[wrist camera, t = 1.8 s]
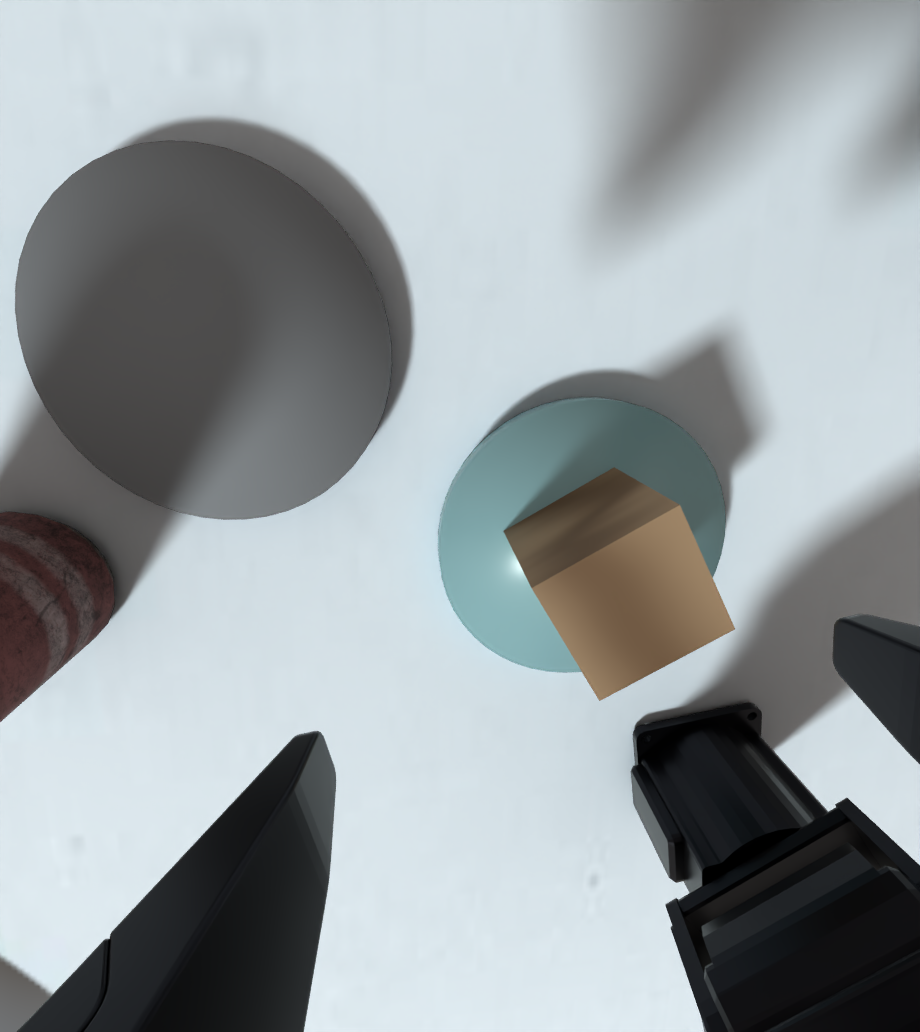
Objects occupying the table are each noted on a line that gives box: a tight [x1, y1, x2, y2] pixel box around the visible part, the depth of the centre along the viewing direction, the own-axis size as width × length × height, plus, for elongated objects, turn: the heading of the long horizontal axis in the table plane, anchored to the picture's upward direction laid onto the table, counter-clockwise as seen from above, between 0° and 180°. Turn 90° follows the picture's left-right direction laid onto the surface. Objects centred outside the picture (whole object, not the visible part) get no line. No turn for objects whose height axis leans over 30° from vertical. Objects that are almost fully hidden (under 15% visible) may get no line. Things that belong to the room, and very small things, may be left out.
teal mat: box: [438, 397, 726, 672], centre depth 21 cm, size 12×12×1 cm
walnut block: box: [503, 467, 735, 701], centre depth 18 cm, size 5×5×5 cm
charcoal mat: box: [15, 141, 392, 520], centre depth 17 cm, size 12×12×1 cm
